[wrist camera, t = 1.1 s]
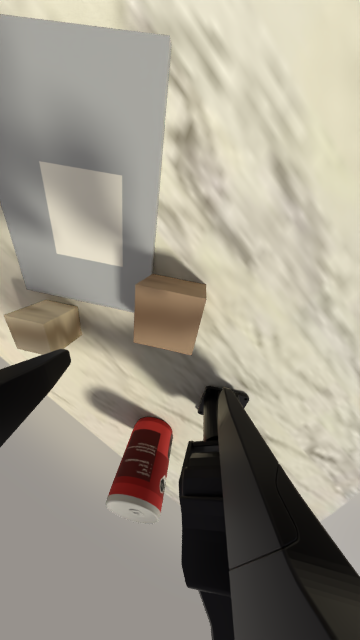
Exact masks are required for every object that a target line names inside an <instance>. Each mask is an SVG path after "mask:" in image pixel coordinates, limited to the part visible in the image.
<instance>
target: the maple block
mask: <svg viewBox="0 0 360 640" xmlns="http://www.w3.org/2000/svg"><path fill="white" fill-rule="evenodd" d="M4 317H5V320H6V322H7V324H8V327H9V329H10V332H11V334H12V337H13V339H14V342H15V344H16V347H17V349H21V350H26V351H30V352H34V353H38V354H42V355H44V354H46V353H49V352H52V351H55V350H58V349H64V348H65V347H66V346H68V345H69V344H70V343H72V342H73V341H74V340H76V339H77V338H78V337H80V336H81V335H82V332H81V326H80V319H79V313H78V307H76V306H72V305H67V304H63V303H58V302H54V301H49V300H44V301H41V302H39V303H36V304H33V305H30V306H28V307H25V308H22V309H19V310H17V311H14V312H11V313H8V314H6V315H4Z"/></svg>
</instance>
